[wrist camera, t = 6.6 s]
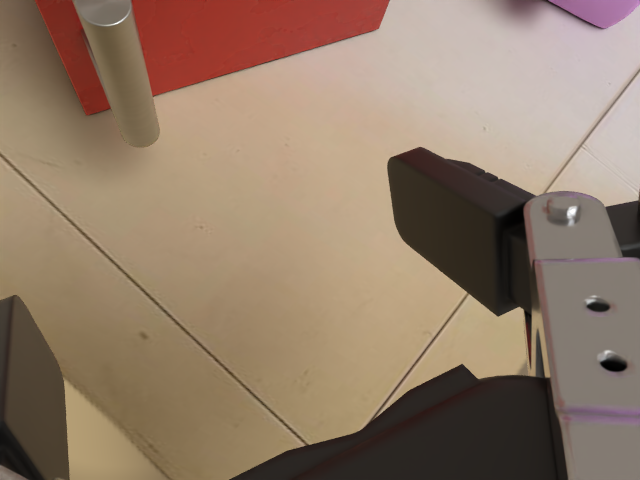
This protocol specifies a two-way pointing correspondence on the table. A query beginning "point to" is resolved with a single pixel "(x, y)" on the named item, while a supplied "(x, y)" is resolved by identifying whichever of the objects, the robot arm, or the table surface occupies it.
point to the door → (184, 45)
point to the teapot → (599, 10)
